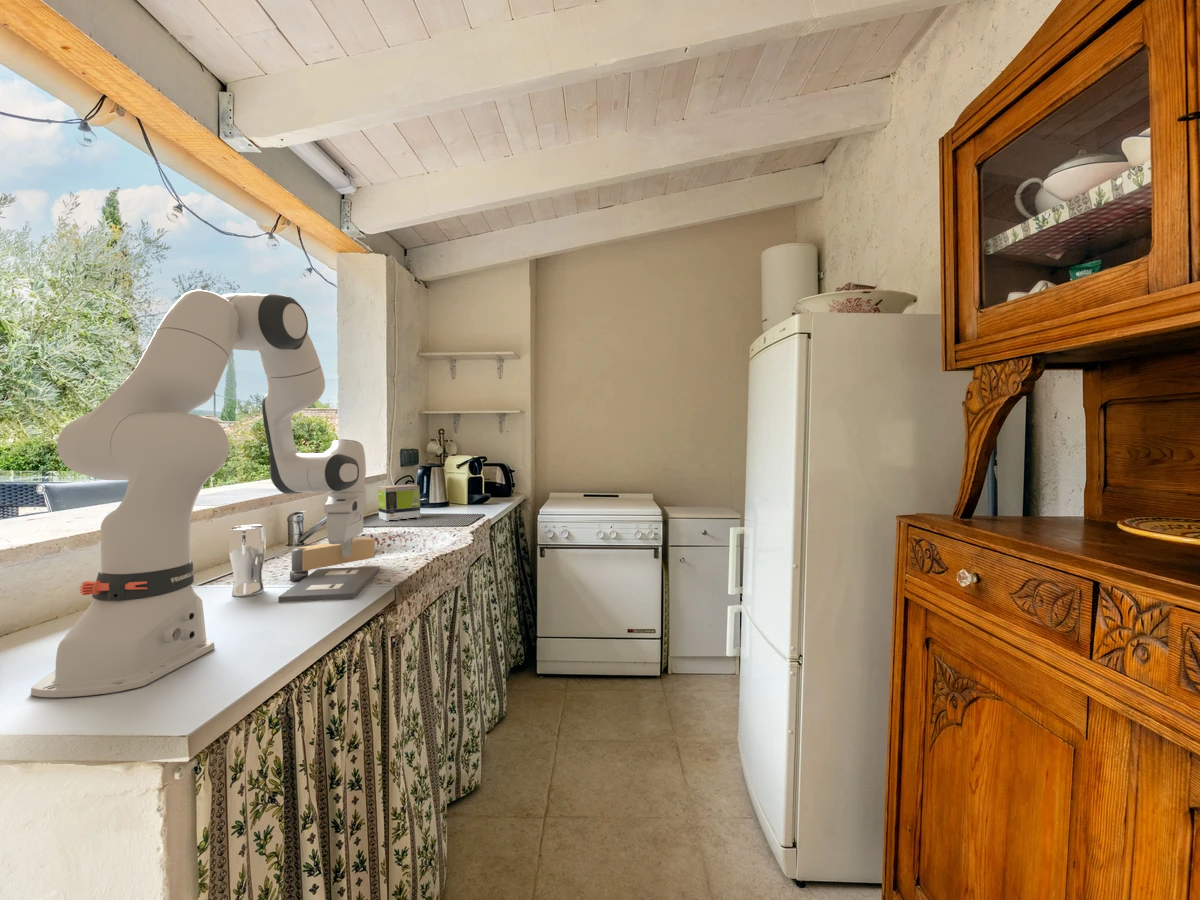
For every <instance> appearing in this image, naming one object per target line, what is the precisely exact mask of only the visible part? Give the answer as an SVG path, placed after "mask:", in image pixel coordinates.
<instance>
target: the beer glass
mask: <svg viewBox="0 0 1200 900" xmlns="http://www.w3.org/2000/svg"><path fill="white" fill-rule="evenodd" d="M265 529H266V528H265V525H263V524H245V525H236V526H232V527H230V528H229V541H228V542H229V543H228V550H229V552H228V553H229V559H230V563H231V567H232V573H233V587H232V590H231V591H232V592H231V595H232V596H233V597H235V598H236V597H238V598H242V597H251V596H252V597H253V596H256V595H261V594H262V593H264V591H265V588H264V584H263V567H264V564H265V563H264V562H265V557H266V550H267V549H266V547H267V546H266V545H267V544H266V543H267V540H266V531H265Z"/></svg>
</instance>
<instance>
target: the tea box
mask: <svg viewBox="0 0 1200 900" xmlns="http://www.w3.org/2000/svg"><path fill="white" fill-rule="evenodd" d="M377 490H378V491H377V492H378V493H377V495H378V519H379V518H380V519H383V520H386V521H388V522H390V521H389V520H398V519H406V518H413V517H419V516H420V517H421V492H420V490H421V489H420V485H418V484H400V485H399V484H397V485H386V486H385V485H384V486H383V485H381V486H378V489H377ZM380 519H379V520H380ZM386 521H385V522H386ZM398 521H399V520H398Z"/></svg>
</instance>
